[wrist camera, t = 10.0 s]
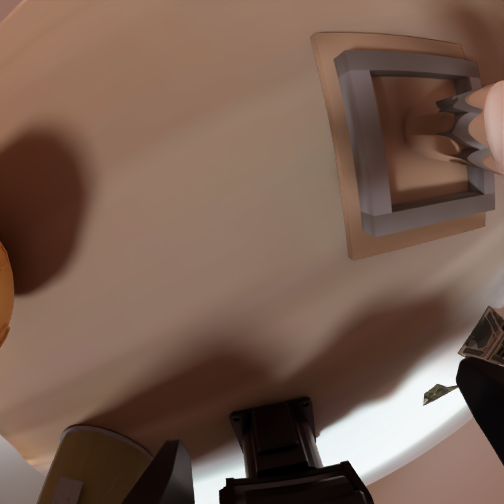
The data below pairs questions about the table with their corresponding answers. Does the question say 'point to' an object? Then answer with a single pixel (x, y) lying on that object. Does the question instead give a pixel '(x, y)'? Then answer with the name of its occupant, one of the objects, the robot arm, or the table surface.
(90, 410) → the table surface
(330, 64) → the frame
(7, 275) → the stress ball
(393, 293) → the table surface
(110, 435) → the canister
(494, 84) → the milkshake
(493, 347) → the eiffel tower figurine
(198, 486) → the table surface
